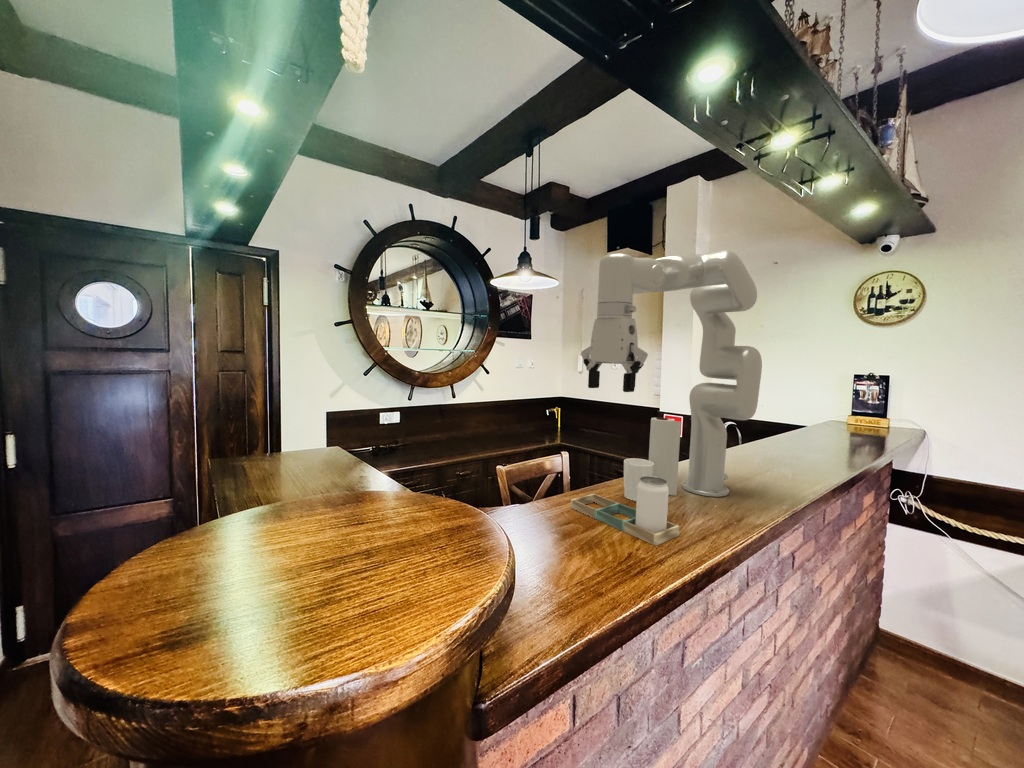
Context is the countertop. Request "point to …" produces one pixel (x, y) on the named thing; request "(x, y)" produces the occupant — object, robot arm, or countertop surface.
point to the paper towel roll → (665, 450)
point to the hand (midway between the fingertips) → (610, 389)
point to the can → (652, 504)
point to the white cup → (635, 475)
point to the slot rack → (625, 526)
